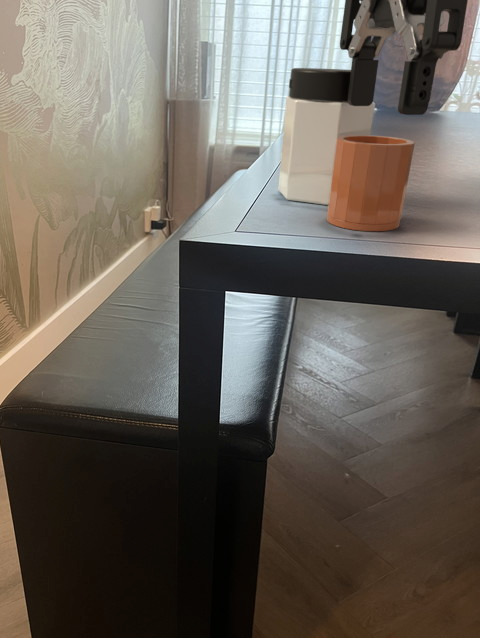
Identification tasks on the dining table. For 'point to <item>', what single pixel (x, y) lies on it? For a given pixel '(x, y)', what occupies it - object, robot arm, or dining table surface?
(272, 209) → the dining table surface
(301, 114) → the jar
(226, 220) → the dining table surface
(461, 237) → the dining table surface
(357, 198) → the pot
